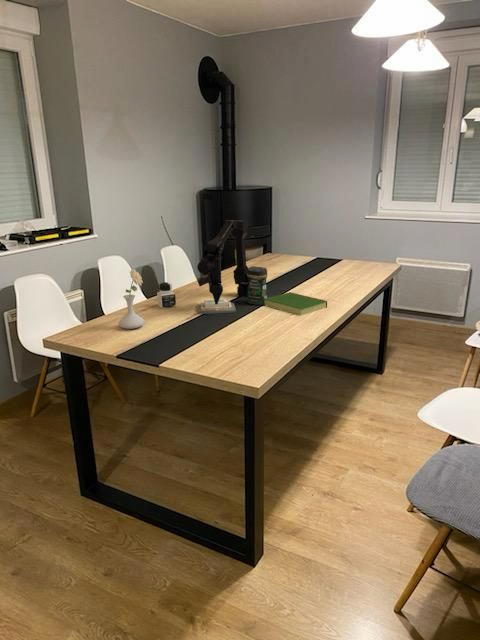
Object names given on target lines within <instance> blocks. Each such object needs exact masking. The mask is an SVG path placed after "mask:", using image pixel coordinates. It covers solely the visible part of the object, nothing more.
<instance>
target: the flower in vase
mask: <svg viewBox="0 0 480 640" xmlns="http://www.w3.org/2000/svg"><path fill="white" fill-rule="evenodd" d="M129 274H130V278H131V279H132V281H131V284H130V289H127V288H126V289H125V293H128V294H125V295H124V296H122V297H123V299H125V301H126V305H127V306H126V307H127V313H126V314H125V315H124V316H123V317H122V318H121V319H120V320H119V321H118V323H117V324H118V327H120V328H122V329H126V330H127V329H130V330H131V329H132V330H133V329H137V328H140V327H142V326H144V325H145V324H146V321H145V319H144V318H143V317H141V316H140V315H138V314H137V313H136V312H135V311H134V299H135V298H136V295H135V294H131V292H132V291H133V292H136V291H138V287H137V286H142V284H143V283H144V282H143V280H142V279H143V278H142V276H141V275H140V273H139V272H138V271H137V270H136V269H134V268H131V269H130V272H129ZM133 284H135V285H133Z"/></svg>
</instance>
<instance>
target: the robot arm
mask: <svg viewBox="0 0 480 640" xmlns="http://www.w3.org/2000/svg"><path fill="white" fill-rule="evenodd" d="M248 229H249V224H248V222H247V221H245V220H233V219H227V220H225V221H224V224H223V226H222V227H221V229H220V231H218V233H217V234H216V236H215V238H213V239H211V240H209V241H208V242H207V244H205V247H204V250H203V254H202V256H201V258H200V262H198V264H197V270H198V272H199V273H200V274H202V275H203V276H199V277H198V278H197V279H196V281H197V283H198V286H199V287H203V286H204V285H207V284H208V289H209V290H208V291H209V293H210V294H212V296H213V300H214V301H215V304H218V302H219V299H221V296H222V294H223V291H224V287H223V286H224V285H222V282H223V281H222V268H221V267H222V266H221V265H222V263H221V262H222V261H221V260H222V259H223V256H222V254H223V252H224V250H225V244H226V242H227V240H228V239H229V237H230V235H232V237H233V238H234V244H235V256H236V257H235V258H236V267H235V269H234V270H233V279H234V284H235V285H237V287H236V291H237V292H236V294H237V296H238V298H246V297H247V298H248V288H249V280H248V276H247V273H248V268H249V267H248V266H247V257H246V256H247V254H246V252H247V251H246V239H245V238H246V236H247V234H248Z"/></svg>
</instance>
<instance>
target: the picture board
mask: <svg viewBox="0 0 480 640" xmlns="http://www.w3.org/2000/svg"><path fill="white" fill-rule="evenodd" d="M196 306H197V315H204V314H205V315H206V314H208V315H209V314H227V313H237V311H236V310H237V309H236V306H235V303H234V302H231V301H228V307H207V308H205V307H204V302H200V304H197V305H196Z"/></svg>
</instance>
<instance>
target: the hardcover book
mask: <svg viewBox="0 0 480 640" xmlns="http://www.w3.org/2000/svg"><path fill="white" fill-rule="evenodd" d="M264 300H265V304H264V306H266V307H269V308H273V309H277V310H281V311H283V312H287V313H290V314H294V315H297V316H304V315H307V314H310V313H313V312H316V311H320V310H323V309H326V308H327V309H328V301H327V300H325V299H320V298H317V297H316V298H315V297H313V296H312V297H311V296H308V295H304V294H299V293H295V292H285V293H282V294H278V295H274V296H270V297H267V298H266V299H264Z"/></svg>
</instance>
